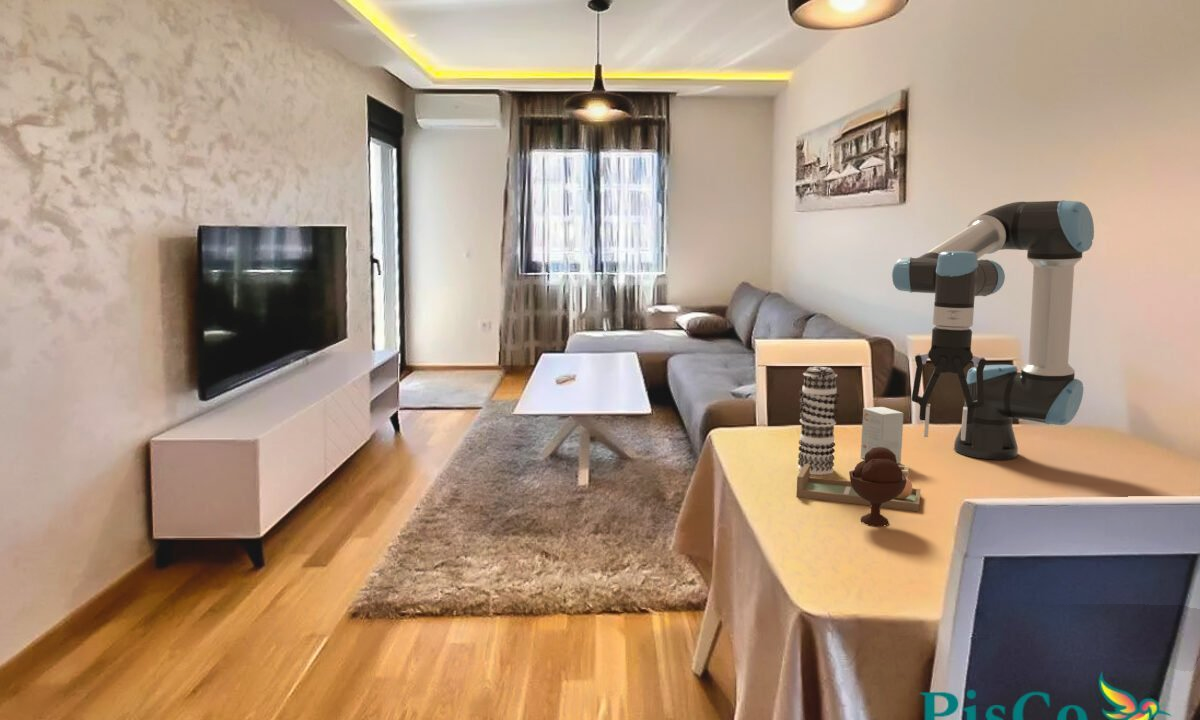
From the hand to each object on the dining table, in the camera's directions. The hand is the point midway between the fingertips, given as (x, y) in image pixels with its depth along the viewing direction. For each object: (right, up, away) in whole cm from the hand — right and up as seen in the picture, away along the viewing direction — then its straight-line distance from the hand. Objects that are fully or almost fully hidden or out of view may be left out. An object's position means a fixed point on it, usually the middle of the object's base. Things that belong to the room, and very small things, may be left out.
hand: (944, 437), depth 175 cm
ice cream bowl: (-17, -16, -7) cm, 25 cm away
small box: (-1, -10, +37) cm, 38 cm away
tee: (-5, -13, +14) cm, 20 cm away
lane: (-15, -14, +8) cm, 22 cm away
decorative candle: (-20, -11, +29) cm, 36 cm away
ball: (-8, -11, +5) cm, 14 cm away
